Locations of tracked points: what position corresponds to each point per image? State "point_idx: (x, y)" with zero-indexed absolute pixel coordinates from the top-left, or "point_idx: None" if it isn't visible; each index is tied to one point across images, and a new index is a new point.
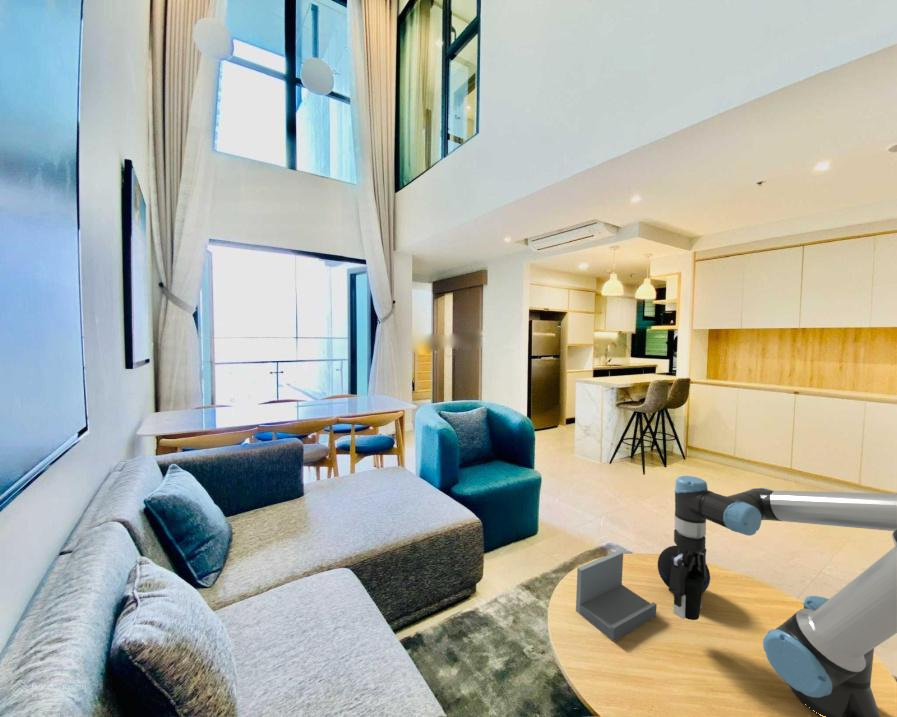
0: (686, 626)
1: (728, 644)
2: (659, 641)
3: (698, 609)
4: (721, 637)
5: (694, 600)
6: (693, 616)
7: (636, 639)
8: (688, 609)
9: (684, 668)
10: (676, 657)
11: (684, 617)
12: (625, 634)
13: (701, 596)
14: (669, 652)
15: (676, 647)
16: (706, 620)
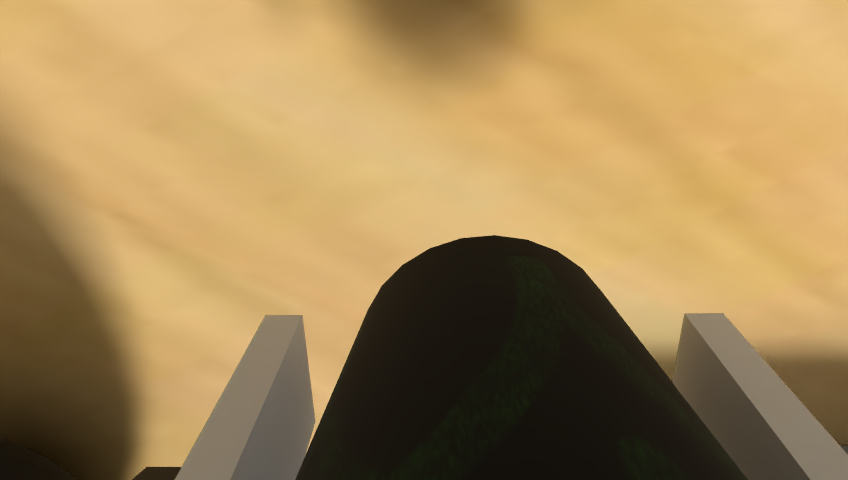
0: (346, 293)
1: (201, 13)
2: (702, 304)
3: (522, 298)
4: (181, 90)
5: (707, 458)
6: (575, 275)
7: (827, 388)
8: (664, 372)
9: (838, 56)
10: (765, 154)
11: (701, 322)
12: (845, 445)
13: (488, 465)
14: (756, 209)
15: (651, 211)
16: (118, 254)
